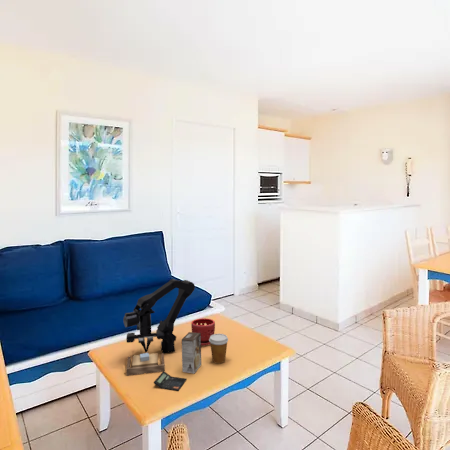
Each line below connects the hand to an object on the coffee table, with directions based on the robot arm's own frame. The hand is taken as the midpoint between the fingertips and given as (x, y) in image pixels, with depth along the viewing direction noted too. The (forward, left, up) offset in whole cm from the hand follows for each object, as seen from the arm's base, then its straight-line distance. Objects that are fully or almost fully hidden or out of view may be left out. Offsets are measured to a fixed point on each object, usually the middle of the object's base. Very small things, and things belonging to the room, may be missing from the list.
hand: (146, 352), depth 180 cm
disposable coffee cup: (-35, +12, -3) cm, 38 cm away
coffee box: (-21, +17, -3) cm, 28 cm away
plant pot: (-31, -10, -3) cm, 33 cm away
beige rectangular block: (0, +10, -3) cm, 10 cm away
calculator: (-10, +28, -3) cm, 30 cm away
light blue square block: (+1, +10, +1) cm, 10 cm away
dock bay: (0, +10, -2) cm, 10 cm away
